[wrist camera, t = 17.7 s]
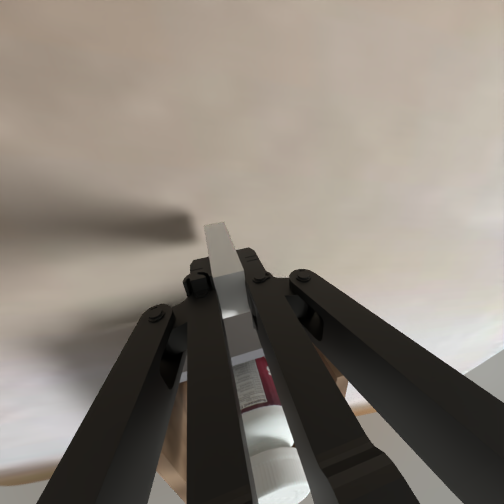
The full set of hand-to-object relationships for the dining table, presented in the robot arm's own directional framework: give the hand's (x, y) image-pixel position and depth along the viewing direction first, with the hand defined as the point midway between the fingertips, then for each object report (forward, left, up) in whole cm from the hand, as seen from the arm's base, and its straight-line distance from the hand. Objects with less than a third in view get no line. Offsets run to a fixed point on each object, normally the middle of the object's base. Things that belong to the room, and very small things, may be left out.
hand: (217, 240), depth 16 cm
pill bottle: (+13, 0, 0) cm, 13 cm away
